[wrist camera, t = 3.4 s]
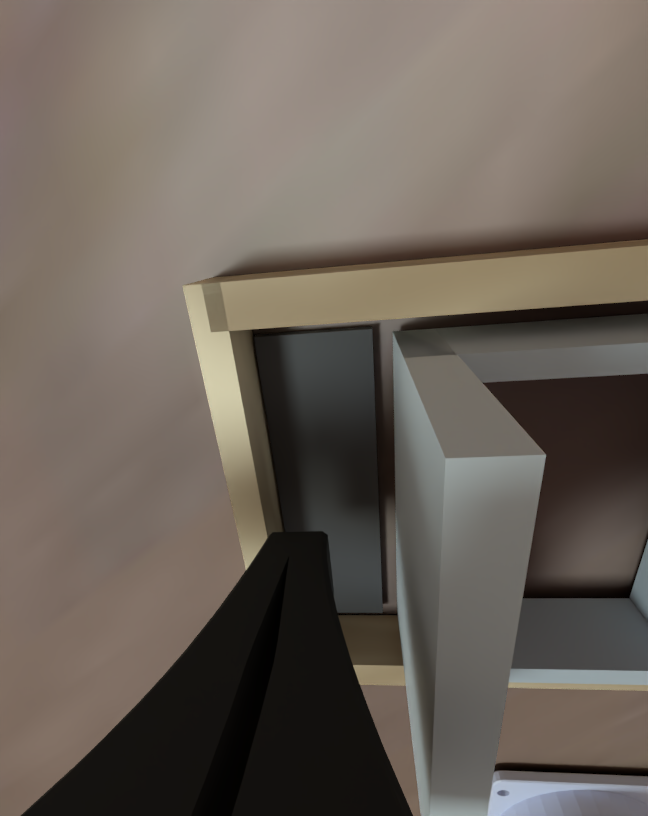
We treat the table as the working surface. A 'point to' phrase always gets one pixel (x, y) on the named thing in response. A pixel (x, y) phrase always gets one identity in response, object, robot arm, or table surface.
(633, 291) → the channel
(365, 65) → the table surface
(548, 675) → the tray
